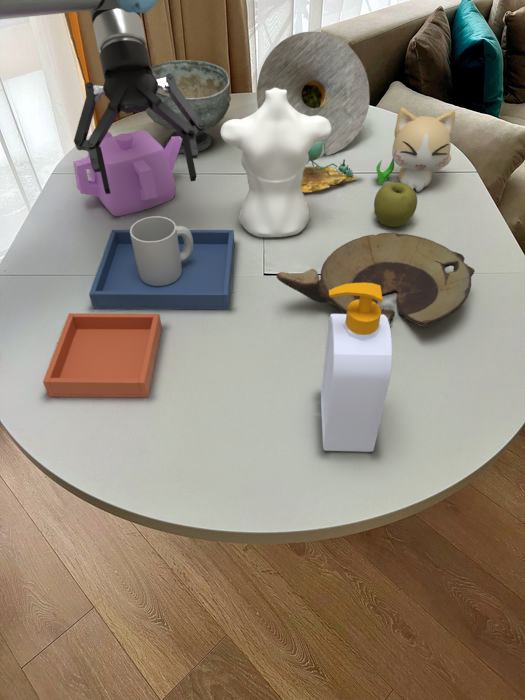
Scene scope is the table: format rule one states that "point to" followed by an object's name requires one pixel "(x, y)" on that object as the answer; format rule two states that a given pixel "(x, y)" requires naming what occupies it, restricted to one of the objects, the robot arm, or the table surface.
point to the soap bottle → (355, 371)
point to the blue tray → (186, 293)
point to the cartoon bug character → (323, 172)
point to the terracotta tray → (104, 356)
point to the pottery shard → (392, 276)
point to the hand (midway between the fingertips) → (151, 185)
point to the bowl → (195, 94)
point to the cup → (159, 249)
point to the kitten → (419, 147)
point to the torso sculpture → (275, 163)
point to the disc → (319, 83)
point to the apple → (395, 204)
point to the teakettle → (131, 172)
